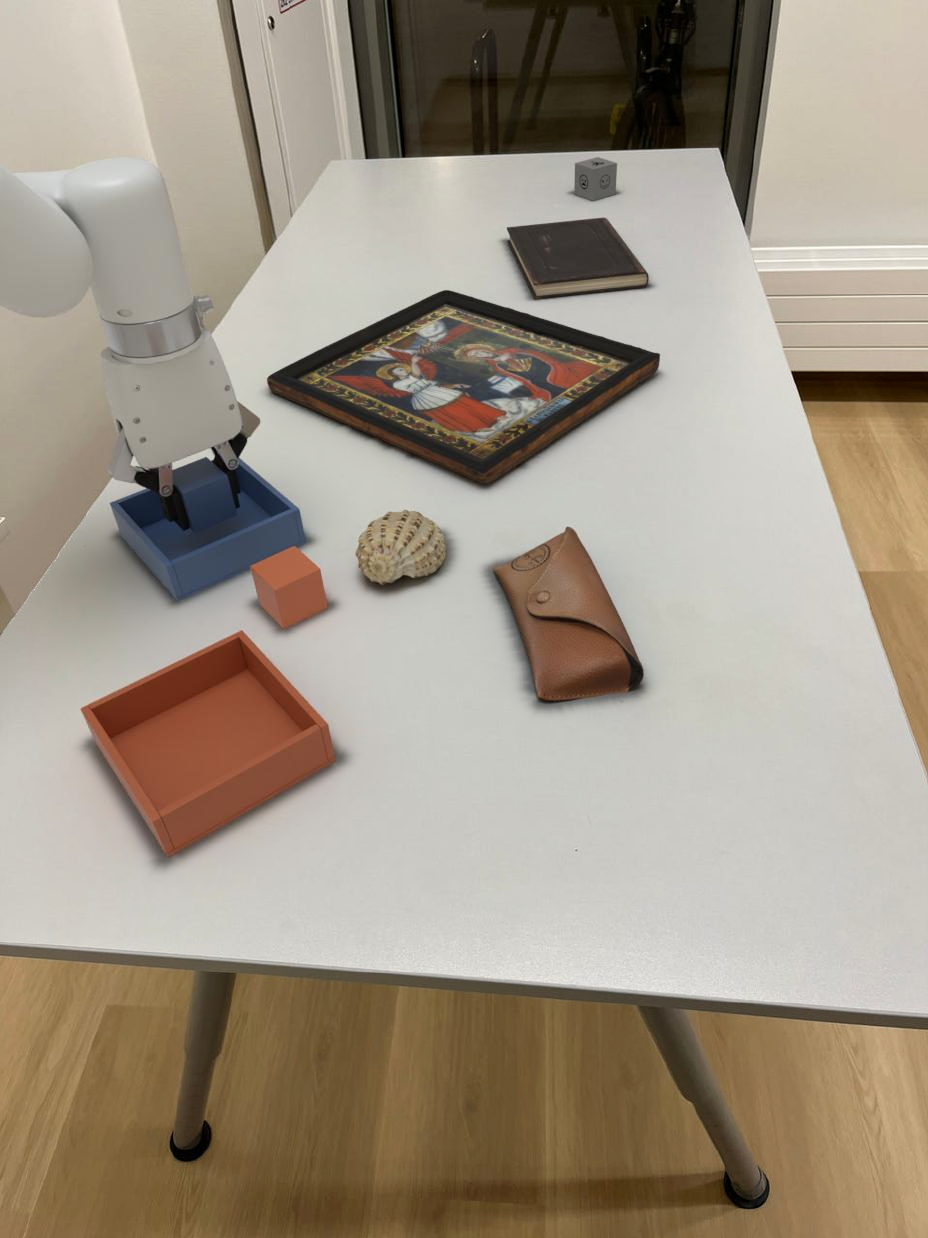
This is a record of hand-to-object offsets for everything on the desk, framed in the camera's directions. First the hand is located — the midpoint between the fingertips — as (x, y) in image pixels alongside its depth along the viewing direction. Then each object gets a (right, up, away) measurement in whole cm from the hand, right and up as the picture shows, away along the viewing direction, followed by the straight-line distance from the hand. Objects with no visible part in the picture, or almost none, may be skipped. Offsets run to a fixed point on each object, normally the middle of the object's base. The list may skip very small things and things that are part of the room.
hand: (205, 511), depth 89 cm
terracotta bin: (+6, -20, -19) cm, 28 cm away
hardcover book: (+40, +42, +51) cm, 77 cm away
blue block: (0, 0, 0) cm, 0 cm away
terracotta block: (+9, -9, -6) cm, 14 cm away
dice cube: (+47, +63, +74) cm, 108 cm away
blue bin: (0, -3, +2) cm, 3 cm away
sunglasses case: (+32, -11, -10) cm, 35 cm away
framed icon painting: (+24, +18, +24) cm, 38 cm away
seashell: (+19, -5, -2) cm, 20 cm away
